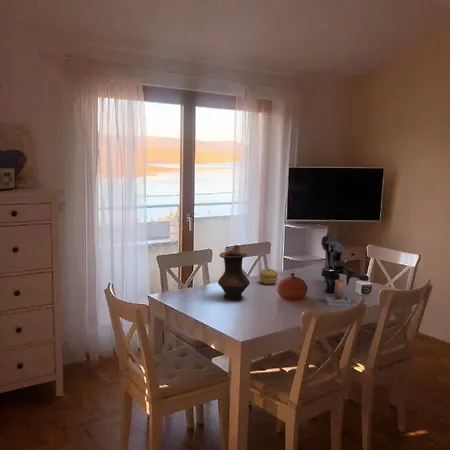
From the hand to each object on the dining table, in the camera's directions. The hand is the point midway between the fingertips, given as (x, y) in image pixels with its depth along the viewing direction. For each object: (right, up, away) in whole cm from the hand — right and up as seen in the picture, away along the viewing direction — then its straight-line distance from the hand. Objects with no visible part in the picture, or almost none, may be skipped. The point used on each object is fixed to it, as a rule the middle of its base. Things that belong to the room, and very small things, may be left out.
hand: (339, 285), depth 286 cm
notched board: (0, -11, +3) cm, 11 cm away
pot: (-37, -4, +41) cm, 56 cm away
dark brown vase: (-60, -9, +8) cm, 61 cm away
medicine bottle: (+20, -8, +24) cm, 32 cm away
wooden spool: (0, -9, +3) cm, 10 cm away
